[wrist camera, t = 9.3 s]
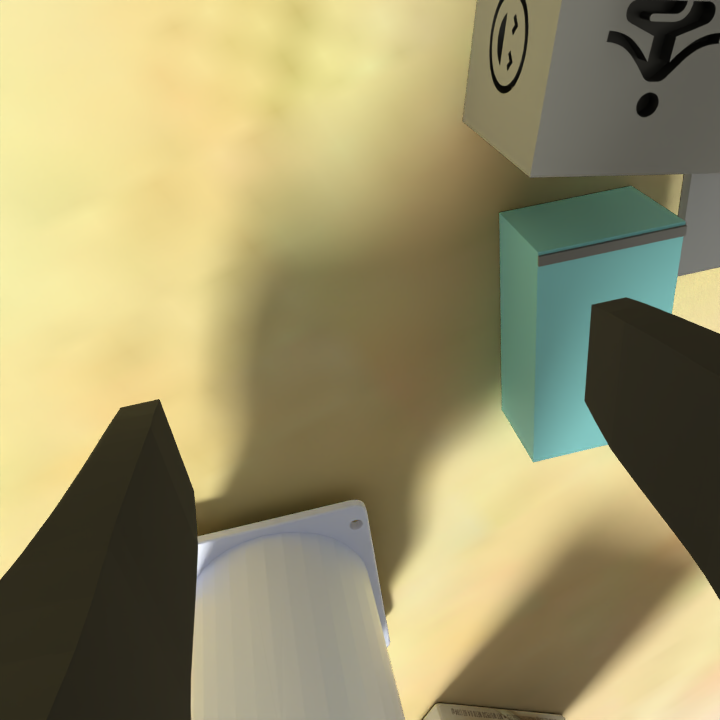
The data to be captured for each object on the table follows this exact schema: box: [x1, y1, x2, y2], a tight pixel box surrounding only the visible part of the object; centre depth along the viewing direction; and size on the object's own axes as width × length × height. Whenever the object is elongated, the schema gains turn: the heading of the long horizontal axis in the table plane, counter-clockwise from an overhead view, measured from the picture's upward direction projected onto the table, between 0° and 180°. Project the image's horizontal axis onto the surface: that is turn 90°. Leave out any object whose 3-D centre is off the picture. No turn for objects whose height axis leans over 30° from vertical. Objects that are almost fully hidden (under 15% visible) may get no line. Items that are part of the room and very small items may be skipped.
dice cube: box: [462, 0, 720, 178], centre depth 17 cm, size 5×5×5 cm
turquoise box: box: [499, 186, 687, 462], centre depth 23 cm, size 8×4×3 cm, turn 7°
